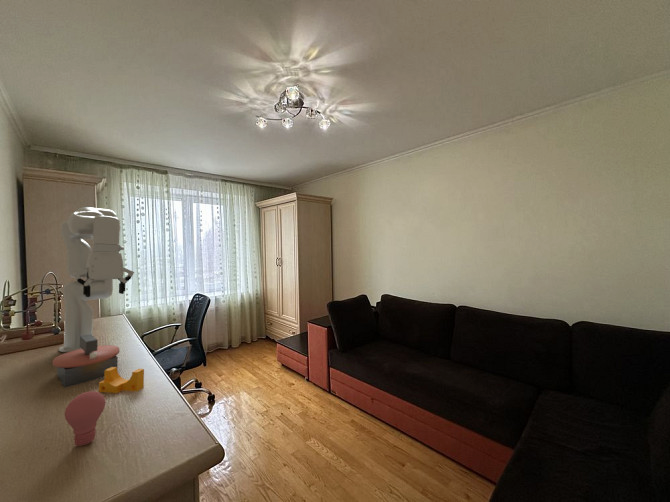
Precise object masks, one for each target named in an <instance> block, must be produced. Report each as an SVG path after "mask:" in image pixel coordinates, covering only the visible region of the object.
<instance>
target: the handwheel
mask: <svg viewBox="0 0 670 502" xmlns="http://www.w3.org/2000/svg"><path fill="white" fill-rule="evenodd" d="M98 341H99V340H98V339H97V338H96V337H95V336H93V334H92V335H91V334H89V335H84V336H80V347H81V348H82V349H78V350H74V351H70V352H63V353H62V354H60V355H58V356H55V358H53V359H52V366H53V367H55V368H57V367H59V368H71V367H80V366H86V365H90V364H95V363H98V362H102V361H105V360H108V359H110V358H112V357H114V356H118V355H119V353H120V347H119V346H117V345H109V344H107V345H98Z"/></svg>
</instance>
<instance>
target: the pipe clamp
mask: <svg viewBox="0 0 670 502" xmlns="http://www.w3.org/2000/svg"><path fill="white" fill-rule="evenodd" d="M103 378H104V379H103V380H101V381H99V383H98V392H99V393H110V394H118V393H120V392H122V391H125V392H139V391H140V390H142V389H143V388H144V387H145V385H144V384H145V379H144V378H145V369H144V368H138V369H135V370H134V371H132V372H131V376H130V378H129V379H126V378H124V377H122V376H121V375H120V374H119V372H118V366H117V367H111V368H109V369H106V370H105V374H104V377H103Z"/></svg>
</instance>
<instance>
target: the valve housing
mask: <svg viewBox="0 0 670 502" xmlns="http://www.w3.org/2000/svg"><path fill="white" fill-rule="evenodd" d="M118 358H119V357H118V355H116V356H114V357H112V358H110V359H108V360H105V361H102V362H98V363H95V364H90V365H86V366H80V367H71V368H59V367H56V369H57V370H56V376H57V378H58V379H59V382H60V383H61V384H62V387H64V388H65V389H66V388H70V387H73V386H76V385H80V384H83V383H86V382H91V381H93V380H97V379H100V378H104V374H105V370H106V369H109V368H111V367H117V368H118V362H119V360H118Z"/></svg>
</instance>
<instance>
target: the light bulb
mask: <svg viewBox="0 0 670 502" xmlns="http://www.w3.org/2000/svg"><path fill="white" fill-rule="evenodd" d="M105 407H106V398H105V396H104V394H102V392H99V391H93V390H91V391H85V392H82V393H80V394H78V395H76V396H75V397H74V398H73V399H72V400H70V402H68V404H67V405H66V407H65V411H64V419H65V421H66V422H67V423H68V425H70V428H72V429H73V434H74V436H73V437H74V439H73V441H74V446H85V445H88V444H90V443H91V442H93V441H94V440H95V438H96V430H97V429H96V428H97V426H98V424H97V421H98V420H99V419H100V417H101V416H102V413H103V411H104V410H105Z"/></svg>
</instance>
